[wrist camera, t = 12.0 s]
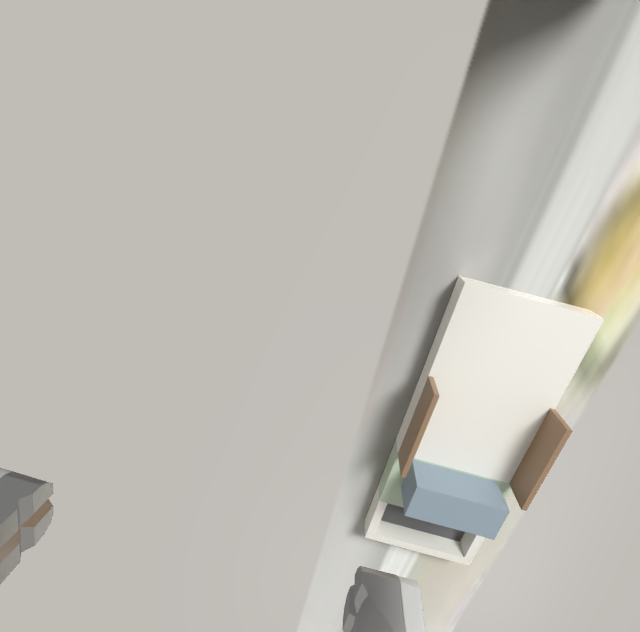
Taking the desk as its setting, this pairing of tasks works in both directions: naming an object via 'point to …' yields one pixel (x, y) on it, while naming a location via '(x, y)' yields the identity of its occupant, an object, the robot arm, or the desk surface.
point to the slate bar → (453, 499)
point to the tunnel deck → (484, 406)
